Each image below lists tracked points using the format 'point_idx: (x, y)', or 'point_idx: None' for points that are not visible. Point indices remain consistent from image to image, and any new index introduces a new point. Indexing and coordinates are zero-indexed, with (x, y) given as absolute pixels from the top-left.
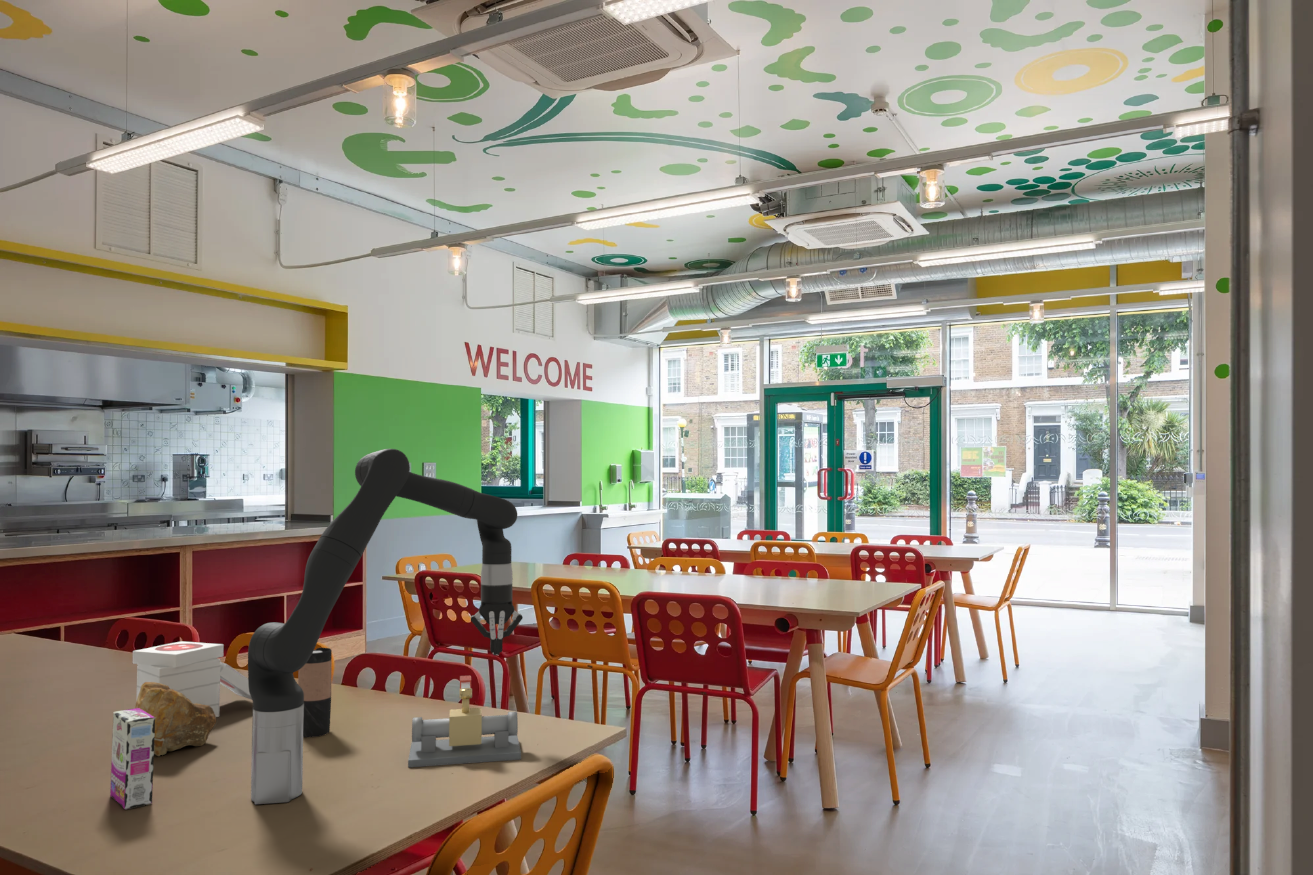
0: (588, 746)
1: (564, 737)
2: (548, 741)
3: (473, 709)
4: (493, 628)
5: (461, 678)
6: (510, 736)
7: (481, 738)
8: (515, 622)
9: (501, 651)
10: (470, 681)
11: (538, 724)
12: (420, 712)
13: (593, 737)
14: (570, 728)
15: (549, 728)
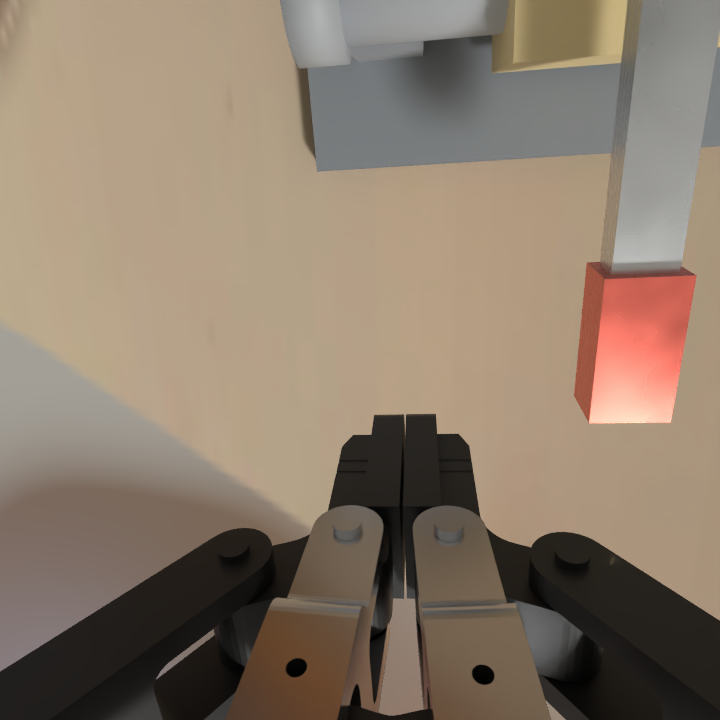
0: (3, 27)
1: (126, 192)
2: (186, 141)
3: (567, 17)
4: (454, 608)
5: (671, 346)
6: (346, 147)
7: (482, 134)
8: (27, 704)
9: (353, 437)
10: (607, 275)
11: (247, 392)
12: None
13: (6, 170)
14: (118, 316)
15: (200, 331)
